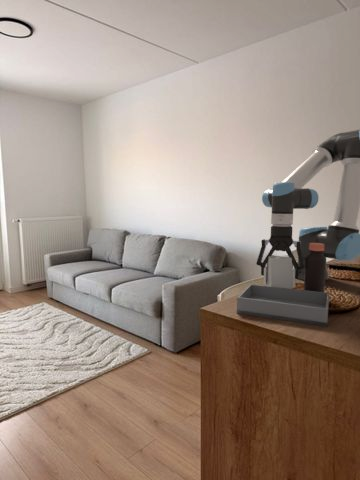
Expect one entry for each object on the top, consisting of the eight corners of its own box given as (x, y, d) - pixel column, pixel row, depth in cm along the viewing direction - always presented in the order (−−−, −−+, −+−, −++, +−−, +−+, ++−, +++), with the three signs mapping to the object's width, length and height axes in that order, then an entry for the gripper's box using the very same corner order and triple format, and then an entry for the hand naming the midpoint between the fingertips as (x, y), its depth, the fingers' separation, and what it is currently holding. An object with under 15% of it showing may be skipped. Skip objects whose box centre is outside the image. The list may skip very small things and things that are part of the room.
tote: (249, 297, 121) (250, 284, 120) (328, 307, 110) (329, 292, 110) (236, 312, 105) (237, 297, 104) (327, 326, 94) (328, 309, 93)
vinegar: (326, 302, 116) (330, 245, 113) (306, 301, 116) (310, 245, 113) (319, 296, 123) (323, 242, 120) (300, 295, 123) (303, 242, 120)
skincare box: (287, 292, 128) (288, 254, 126) (292, 297, 122) (294, 257, 120) (265, 292, 127) (266, 254, 125) (270, 297, 121) (271, 257, 120)
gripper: (248, 225, 122) (247, 284, 125) (314, 227, 113) (310, 291, 116) (253, 223, 129) (251, 280, 132) (315, 225, 120) (311, 286, 123)
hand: (279, 285), depth 124 cm, fingers closed on skincare box, 9 cm apart
